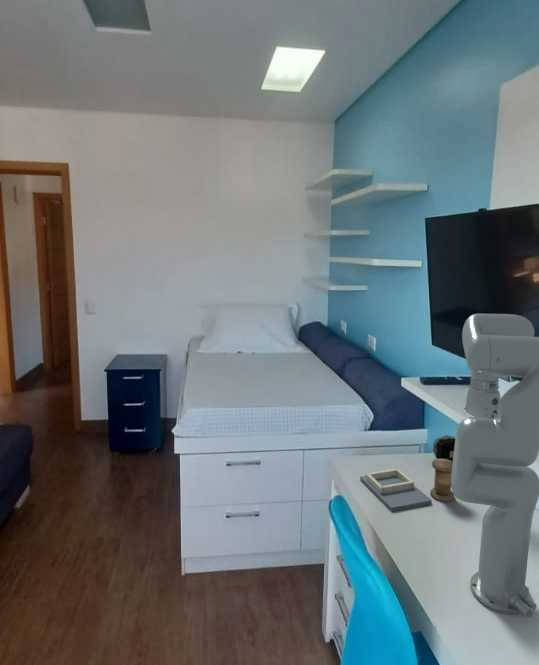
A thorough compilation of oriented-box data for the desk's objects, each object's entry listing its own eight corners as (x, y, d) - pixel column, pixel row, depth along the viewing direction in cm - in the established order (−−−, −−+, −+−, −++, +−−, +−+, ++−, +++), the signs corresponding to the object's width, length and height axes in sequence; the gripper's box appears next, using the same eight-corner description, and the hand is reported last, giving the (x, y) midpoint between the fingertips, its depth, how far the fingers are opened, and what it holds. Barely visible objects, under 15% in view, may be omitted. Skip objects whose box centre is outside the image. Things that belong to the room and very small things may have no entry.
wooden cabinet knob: (458, 499, 146) (460, 467, 144) (439, 503, 144) (441, 470, 142) (444, 488, 153) (446, 457, 151) (425, 492, 151) (427, 460, 149)
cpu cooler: (457, 459, 173) (459, 433, 171) (466, 466, 168) (468, 440, 166) (431, 461, 172) (432, 435, 170) (438, 468, 166) (440, 442, 165)
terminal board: (431, 503, 144) (432, 494, 143) (391, 511, 140) (391, 501, 139) (396, 474, 163) (396, 465, 162) (360, 479, 159) (360, 471, 158)
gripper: (517, 391, 131) (511, 451, 135) (474, 375, 147) (470, 429, 151) (494, 394, 129) (489, 455, 133) (454, 377, 145) (450, 432, 149)
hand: (479, 440), depth 142 cm, fingers closed on push button, 5 cm apart
